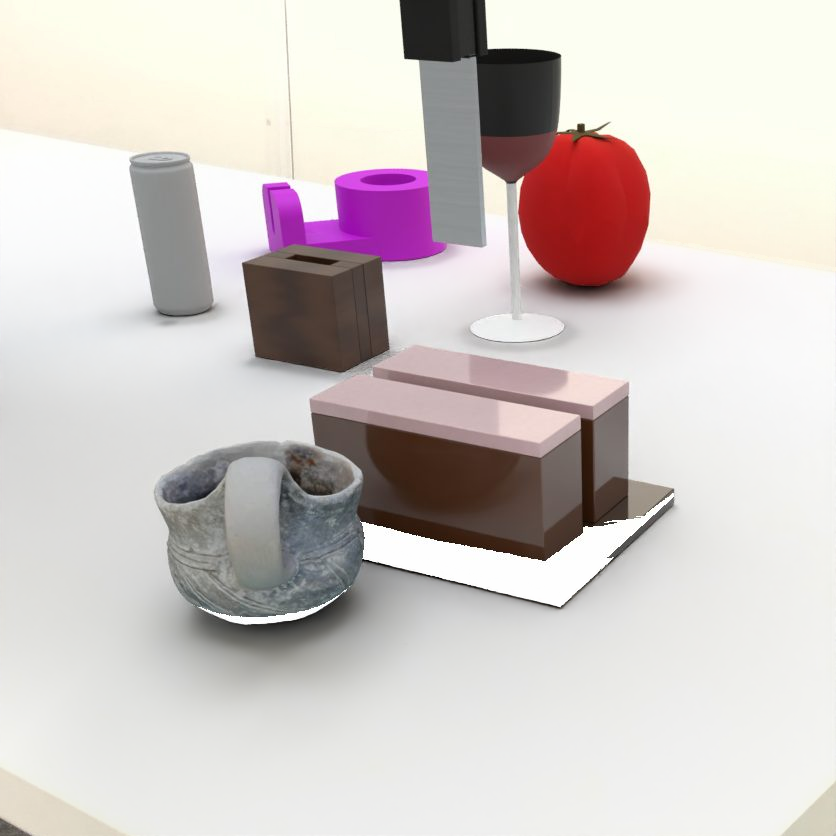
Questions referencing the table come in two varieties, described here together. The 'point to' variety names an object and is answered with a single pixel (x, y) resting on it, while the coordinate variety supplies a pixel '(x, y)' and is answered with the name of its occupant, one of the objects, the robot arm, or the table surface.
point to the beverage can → (171, 232)
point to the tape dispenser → (359, 216)
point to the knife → (455, 140)
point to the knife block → (317, 306)
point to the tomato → (586, 208)
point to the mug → (263, 527)
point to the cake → (486, 450)
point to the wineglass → (517, 158)
